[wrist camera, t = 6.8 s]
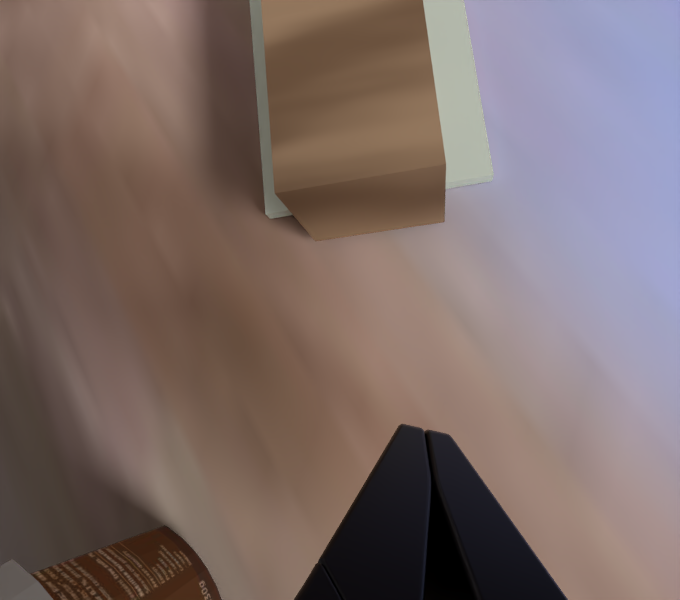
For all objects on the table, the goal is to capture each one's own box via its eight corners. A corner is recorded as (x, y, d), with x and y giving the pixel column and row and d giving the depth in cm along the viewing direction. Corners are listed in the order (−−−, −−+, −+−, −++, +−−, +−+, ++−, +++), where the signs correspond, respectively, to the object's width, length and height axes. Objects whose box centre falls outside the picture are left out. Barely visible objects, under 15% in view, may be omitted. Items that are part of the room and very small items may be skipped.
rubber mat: (491, 181, 19) (493, 174, 18) (270, 218, 21) (265, 213, 20) (441, -115, 22) (441, -129, 21) (248, -62, 23) (243, -73, 23)
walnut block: (445, 164, 14) (397, -180, 16) (274, 193, 15) (251, -137, 17) (444, 221, 18) (407, -48, 21) (315, 241, 19) (293, -20, 22)
